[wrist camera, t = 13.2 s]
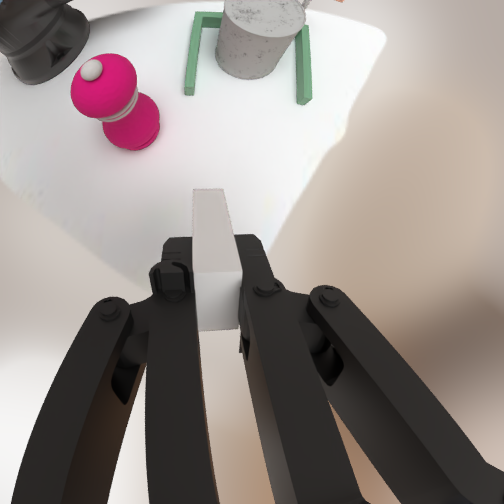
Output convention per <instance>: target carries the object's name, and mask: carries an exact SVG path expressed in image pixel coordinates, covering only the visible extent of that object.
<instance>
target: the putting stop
mask: <svg viewBox="0 0 504 504" xmlns="http://www.w3.org/2000/svg"><path fill="white" fill-rule="evenodd" d="M311 1H312V0H304V2H303V4H302V6H303V8H304V11H305V9H306V8H307V6H308V5H309V3H310V2H311ZM336 1H339V2H343V1H344V0H336ZM222 16H223V13H222V12H195V17H194V23H193V29H192V35H191V41H190V48H189V55H188V63H187V70H186V79H185V95H194V87H195V78H196V68H197V60H198V52H199V44H200V37H201V30H202V27H210V28H220V26H221V21H222ZM294 38H295V42H296V74H297V104H301V105H305V104H306V103H308V102H309V101H310V100H311V99H312V76H311V56H310V40H309V27H308V25H304V26H303V27H302V29H301V30H300V31H299V32H298V33H297V35H296V36H295V37H294Z"/></svg>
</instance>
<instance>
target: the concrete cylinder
mask: <svg viewBox="0 0 504 504" xmlns="http://www.w3.org/2000/svg"><path fill="white" fill-rule="evenodd" d="M305 21H306V13H305V11H304V8H303V6H302V5H301V4H300V2H299V1H298V0H225V2H224V11H223V16H222V21H221V26H220V31H219V37H218V42H217V47H216V50H215V57H216V61H217V63H218V65H219V66H220V67H221V68H222V69H223V70H224V71H225V72H226V73H228V74H230V75H232V76H234V77H236V78H240V79H247V80H252V79H259V78H263V77H265V76H267V75H268V74H270V73H271V72H272V71H273V70H274V68H275V67H276V65H277V63H278V61H279V60H280V58H281V57H282V55H283V54H284V52H285V51H286V49H287V48H288V46H289V45H290V43H291V42H292V40H293V39H294V37H295V36H296V35H297V33H298V32H299V31H300V30H301V29H302V27H303V26H304V24H305Z"/></svg>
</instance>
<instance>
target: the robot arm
mask: <svg viewBox="0 0 504 504" xmlns="http://www.w3.org/2000/svg"><path fill="white" fill-rule="evenodd" d="M70 1H72V0H0V52H1V53H2V54H4V55H5V56H6V57H7V59H8V61H9V63H10V65H11V66H12V70H13V73H14V75H15V76H16V77H17V78H18V79H19V80H21V81H22V82H24V83H26V84H30V85H34V84H40V83H43V82H45V81H47V80H49V79H51V78H53V77H55V76H56V75H58V74H59V73H60V72H62V71H63V70H64V69H65V68H66V67H67V66H69V65H70V64H71V63H72V62H73V60H74V59H75V58H76V57H77V56H78V54H79V53H80V52H81V50H82V49H83V47H84V45H85V43H86V41H87V39H88V36H89V31H90V26H89V22H88V20H87V19H86V17H85V15H84V14H83V13H82V12H81V11H79V10H77V9H74V8H72V7H71V6H69V5H68V4H66V3H68V2H70ZM149 277H150V282H151V287H152V292H153V295H152V296H151V297H149V298H147V299H146V300H143V301H141V302H137V303H134V304H130V305H129V304H128V303H127V302H126V301H125V300H124V299H122V298H119V297H108V298H104V299H102V300H100V301H99V302H97V303H96V304H95V305H94V306H93V308H92V309H91V311H90V312H89V314H88V316H87V318H86V320H85V321H84V323H83V325H82V327H81V328H80V330H79V332H78V334H77V335H76V337H75V339H74V341H73V343H72V345H71V347H70V348H69V350H68V352H67V354H66V356H65V358H64V360H63V362H62V364H61V366H60V368H59V370H58V372H57V374H56V376H55V378H54V381H53V383H52V385H51V387H50V389H49V391H48V394H47V396H46V398H45V400H44V403H43V405H42V407H41V410H40V412H39V415H38V417H37V420H36V422H35V425H34V427H33V430H32V433H31V436H30V438H29V441H28V444H27V447H26V450H25V453H24V456H23V459H22V463H21V466H20V469H19V473H18V476H17V480H16V484H15V488H14V492H13V496H12V501H11V504H107V502H108V498H109V493H110V489H111V484H112V480H113V476H114V472H115V468H116V464H117V460H118V456H119V452H120V449H121V445H122V442H123V438H124V434H125V431H126V427H127V424H128V421H129V417H130V414H131V411H132V407H133V404H134V401H135V397H136V395H137V391H138V388H139V385H140V382H141V379H142V376H143V373H144V370H145V367H146V364H147V367H146V392H145V442H146V443H145V444H146V468H147V480H148V481H147V482H148V493H149V504H220V502H219V497H218V491H217V486H216V480H215V475H214V468H213V461H212V454H211V447H210V440H209V433H208V426H207V417H206V408H205V400H204V391H203V381H202V369H201V358H200V345H199V335H198V331H215V330H231V329H238V325H240V330H241V336H240V349H239V353H243V359H244V364H245V369H246V374H247V378H248V384H249V388H250V393H251V398H252V403H253V408H254V413H255V417H256V422H257V427H258V431H259V436H260V440H261V445H262V449H263V453H264V458H265V462H266V467H267V471H268V475H269V480H270V484H271V488H272V492H273V496H274V500H275V504H370V503H369V502H367V501H366V500H365V499H364V498H363V497H362V495H361V492H360V490H359V487H358V484H357V481H356V478H355V475H354V472H353V469H352V466H351V464H350V461H349V458H348V455H347V452H346V449H345V446H344V444H343V441H342V438H341V435H340V432H339V430H338V427H337V424H336V421H335V419H334V416H333V413H332V411H331V408H330V405H329V402H330V404H331V405H332V407H333V408H334V409H335V411H336V412H337V414H338V415H339V417H340V418H341V420H342V421H343V423H344V424H345V425H346V427H347V428H348V430H349V431H350V432H351V434H352V435H353V437H354V438H355V440H356V441H357V443H358V444H359V445H360V447H361V448H362V450H363V451H364V453H365V454H366V455H367V457H368V458H369V460H370V461H371V463H372V464H373V465H374V467H375V468H376V470H377V471H378V473H379V474H380V475H381V477H382V478H383V479H384V481H385V482H386V484H387V485H388V486H389V488H390V489H391V490H392V492H393V493H394V495H395V496H396V497H397V499H398V500H399V501H400V503H401V504H504V472H503V471H501V470H499V469H497V468H496V467H494V466H492V465H490V464H488V463H487V462H486V461H485V460H484V459H483V457H482V456H481V455H480V453H479V452H478V451H477V449H476V448H475V447H474V445H473V444H472V443H471V441H470V440H469V439H468V437H467V436H466V435H465V433H464V432H463V431H462V430H461V428H460V427H459V426H458V424H457V423H456V422H455V421H454V419H453V418H452V417H451V416H450V414H449V413H448V412H447V411H446V409H445V408H444V407H443V406H442V405H441V403H440V402H439V401H438V400H437V398H436V397H435V396H434V395H433V393H432V392H431V391H430V390H429V389H428V387H427V386H426V385H425V384H424V382H422V380H421V379H420V378H419V376H418V375H417V374H416V373H415V372H414V371H413V369H412V368H411V367H410V366H409V365H408V364H407V363H406V361H405V360H404V359H403V358H402V357H401V355H400V354H399V353H398V352H397V351H396V350H395V349H394V348H393V346H392V345H391V344H390V343H389V342H388V341H387V340H386V338H385V337H384V336H383V335H382V334H381V333H380V332H379V330H378V329H377V328H376V327H375V326H374V325H373V324H372V323H371V322H370V320H369V319H368V318H367V317H366V316H365V315H364V314H363V313H362V312H361V311H360V309H358V307H357V306H356V305H355V304H354V303H353V302H352V301H351V300H350V299H349V298H348V296H346V294H345V293H344V292H342V291H341V290H340V289H338V288H335V287H333V286H328V285H322V286H318V287H315V288H313V290H312V291H311V292H310V295H307V294H301V293H295V292H291V291H288V290H286V289H285V287H284V285H283V284H282V283H281V282H280V281H279V280H277V279H276V278H274V275H273V272H272V270H271V267H270V264H269V262H268V259H267V256H266V254H265V251H264V250H263V246H262V243H261V241H260V240H259V239H258V238H257V237H256V236H255V235H254V234H241V235H234V233H233V229H232V225H231V221H230V216H229V212H228V208H227V204H226V199H225V195H224V191H223V189H193V230H192V237H174V238H169V239H168V240H167V241H166V242H165V244H164V245H163V251H162V258H161V262H159V263H157V264H156V265H154V266H153V267H152V268H151V270H150V272H149ZM328 401H329V402H328Z"/></svg>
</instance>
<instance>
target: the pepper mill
mask: <svg viewBox="0 0 504 504" xmlns="http://www.w3.org/2000/svg"><path fill="white" fill-rule="evenodd" d="M136 85H137V75H136V71H135V68H134V67H133V65H132V64H131V63H130V61H129V60H128V59H126V58H125V57H123V56H120V55H118V54H101V55H98V56H95V57H93V58H91V59H90V60H88V61H87V62H85V63H84V64H83V65H82V66H81V67H80V69H79V70H78V71H77V73H76V74H75V76H74V78H73V81H72V85H71V98H72V101H73V104H74V106H75V107H76V108H77V110H78V111H79V112H80V113H82V114H83V115H85V116H87V117H91V118H97V119H98V120H100V121H102V124H103V130H104V133H105V135H106V137H107V138H108V139H109V141H110V142H111V143H113V144H114V145H115V146H118V147H120V148H126V149H129V150H140V149H143V148H145V147H147V146H149V145H150V144H151V143H152V142H153V141H154V140H155V139H156V137H157V135H158V132H159V127H160V126H159V110H158V108H157V106H156V104H155V103H154V101H153V100H152V99H151V98H150V97H149V96H147V95H145V94H142V93H139V92H138V89H137V86H136Z"/></svg>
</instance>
